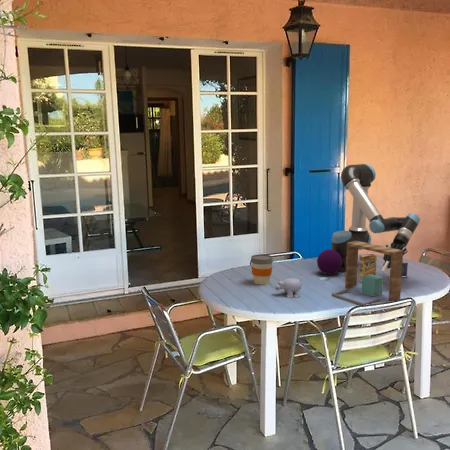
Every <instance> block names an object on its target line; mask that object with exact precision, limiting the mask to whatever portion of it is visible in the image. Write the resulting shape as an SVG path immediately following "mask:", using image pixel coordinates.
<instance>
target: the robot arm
mask: <svg viewBox="0 0 450 450" xmlns="http://www.w3.org/2000/svg"><path fill="white" fill-rule="evenodd" d="M375 179H376V171H375V169H374V167H373V166H372V165H371V164H367V163H358V164H348V165H346V166H345V167H344V168H343V169H342V171H341V172H340V180H341V184H342V185H343V187H344V189H345V190H347V191H349V193H350V195H351V196H352V210H351V211H352V213H351V225H350V227H349V228H348V230H337V231H335V232H333V233H332V238H331V250H335V251H337V252H338V253H339V254H340V256H341V258H342V267H341V268H340V270H339V271H338V272H340V273H342V272H343V273H346V254H347V243H348V242H353V241H360V242H365V243H370V244H372V243H371V241H372V235H371V234H370V232H371V233H373V234H382V233H386V232H396V231H397V233H396V235H395V236H394V238H393V241H392V242H391V243H390V244H386V245H385V247H389V248H393V249H398V250H403V256H404V255H406V254H407V253H408V248H407V246H408V244H409V242H410V241H411V239H412V237H413V234H414V232H415V231H416V229H417V227H418V226H419V224H420V221H421V218H420V216H419V215H418V214H416V213H414V212H410V213H407V215H406V216H403V217H400V216H399V217H397V216H396V217H395V216H392V217H391V216H390V217H386V218H384V217H383V215H382V214H381V212H380V211H379V210H378V208H377V207H376V205H375V203H374V202H373V201H372V199H371V198H370V196H369V195H368V193H369V189H370V188H371V187H372V182H374V180H375ZM367 220H368V221H369V224H368V228H369V229H368V228H367V226H366V225H367V223H366V222H367ZM369 231H370V232H369ZM360 250H363V249H360V248H358V251H360ZM382 259H383V261H384V262H383V265H382V269H381V272H382V273H383V274H387V273H388V271H389V270H390V264H391V255H387V254H383V257H382ZM338 272H337V273H338Z"/></svg>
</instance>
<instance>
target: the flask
mask: <svg viewBox="0 0 450 450" xmlns="http://www.w3.org/2000/svg"><path fill="white" fill-rule="evenodd" d="M408 265H409V264H408V262H407V261H402V276H407V277H408V267H409V266H408Z"/></svg>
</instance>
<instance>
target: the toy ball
mask: <svg viewBox="0 0 450 450" xmlns="http://www.w3.org/2000/svg"><path fill="white" fill-rule="evenodd" d="M316 265H317V267H318V269H319V270H320V271H321V272H322V273H324V274H326V275H334V274H337V273H338V271H339V270H340V268H341V267H342V258H341V256H340V254H339V253H338V252H337V251H335V250H332V248H330V249H325V250H323V251H321V252H320V253H319V255H318V256H317V259H316Z"/></svg>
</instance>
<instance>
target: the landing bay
mask: <svg viewBox="0 0 450 450" xmlns="http://www.w3.org/2000/svg"><path fill="white" fill-rule="evenodd" d="M350 289H351V288H345V289H343V290H339V291H336V292H333V293H331V296H332V297H333V298H336V299H340V300H343V301H346V302H349V303H352V304H355V305H357V306H360V305H366V304H370V305H372V303H373V304H376V303H378V302H380V301H381V298H379V297H377V298H375V299H372V300H368V301H366V302H361V301H358V300H355V299H352V298H348V297H346V296H342V295H343V294H346V293H349V292H348V291H351V290H350ZM339 294H340V295H339Z"/></svg>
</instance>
